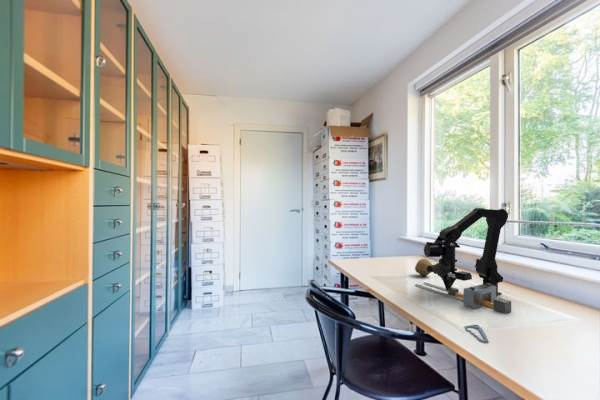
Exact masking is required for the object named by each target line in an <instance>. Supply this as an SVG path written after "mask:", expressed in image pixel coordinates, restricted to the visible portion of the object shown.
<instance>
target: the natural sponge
mask: <svg viewBox="0 0 600 400" xmlns="http://www.w3.org/2000/svg"><path fill="white" fill-rule="evenodd" d="M428 265H433V263H432V262H431V261H430V260H428V259H427V258H420V259H419V260H418V261H417V263H416V265H415V267H414V271H415V272H416V273H417V274H419V275H420V276H422V277H427V276H428V275H429V274H431V273H432V272H428V271H427V267H428Z"/></svg>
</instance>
